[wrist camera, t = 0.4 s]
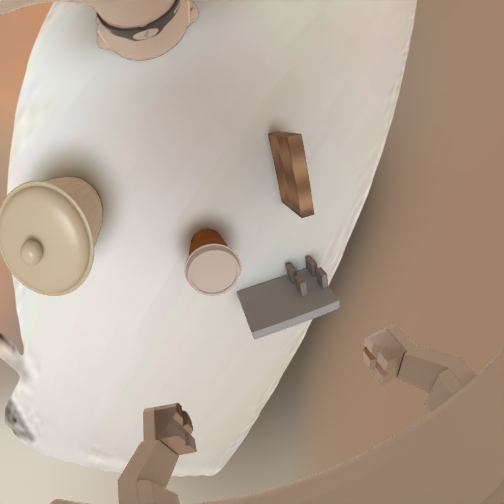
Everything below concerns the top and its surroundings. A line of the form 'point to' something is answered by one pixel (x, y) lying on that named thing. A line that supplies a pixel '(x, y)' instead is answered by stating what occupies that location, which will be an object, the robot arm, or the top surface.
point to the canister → (50, 233)
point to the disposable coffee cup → (211, 264)
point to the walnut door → (292, 172)
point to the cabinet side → (287, 300)
